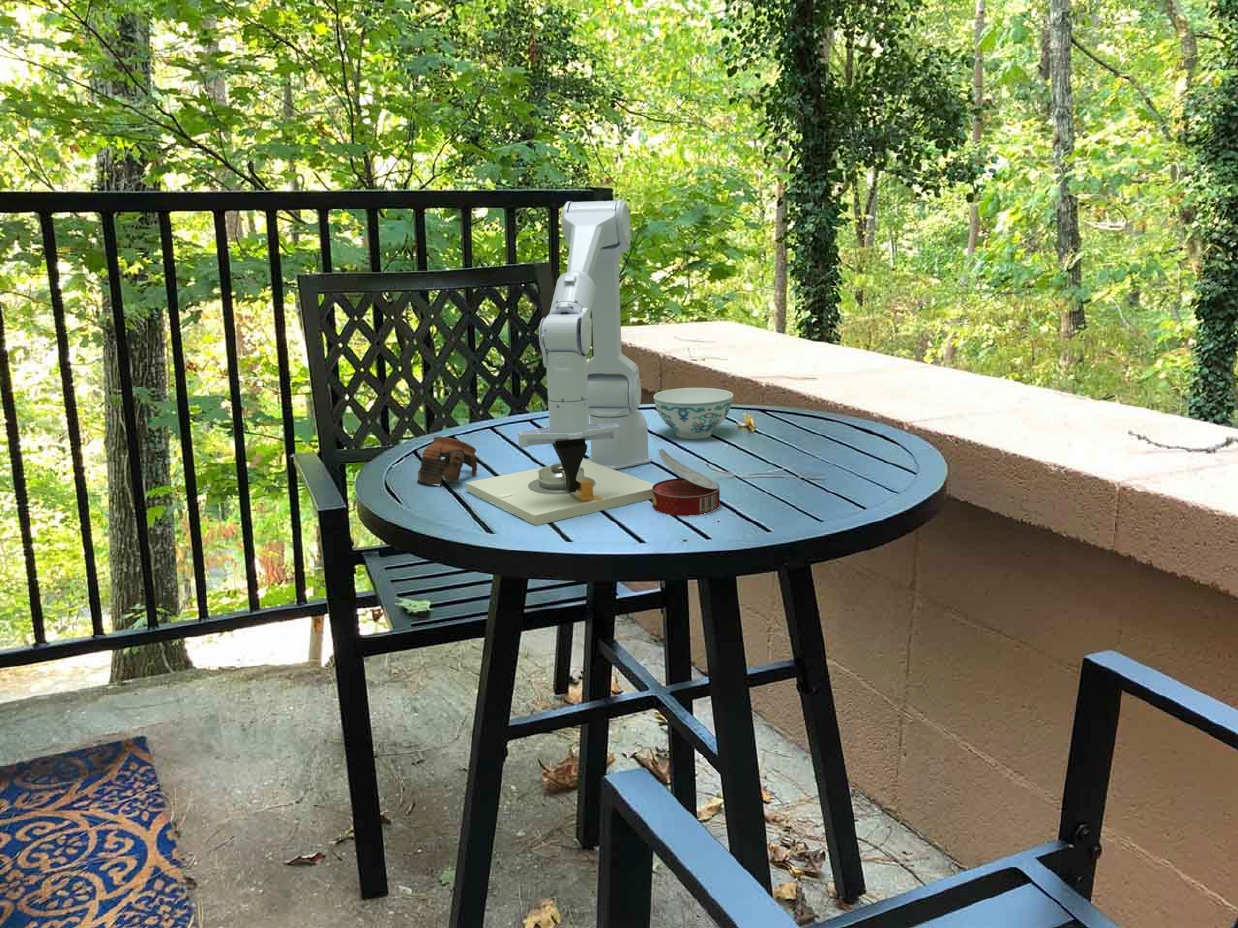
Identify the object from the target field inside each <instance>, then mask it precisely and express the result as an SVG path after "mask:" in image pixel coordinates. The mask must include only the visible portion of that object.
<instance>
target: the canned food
mask: <svg viewBox="0 0 1238 928" xmlns="http://www.w3.org/2000/svg"><path fill="white" fill-rule="evenodd" d="M657 450H658V453H659V457H660V458H661V460H662V461H663V463H664V464H665V465H666V466H667V467H668V468H669V469H670V470H671V471H673V473H675V474H676V475H677V476H679V477H680V478H671V479H665V480H661V481H658V482H657V483H654V484H655V485H654V486H653V487H652V495H653V499H652V508H654V511H656V512H658V511H659V512H658V513H660V512H662V513H661V514H663V513H665V514H664V515H668V514H670V515H669V516H674V515H675V516H678V517H690V516H689V515H695V516H701V515H700V514H703V515H705V514H704V513H707V514H709V513H708V512H711V511H713V510H715V509H717V508H718V507H719V506H720V507H721V504H720V502H721V501H720V499H721V498H720V495H721V493H720V492H721V491H720V489H721V488H720V485H719V483H717V482H716V481H714V480H713V479H711V478H710V477H708V476H705V475H704V474H703V473H700V472H699V471H696V470H695V469H692V468H690V467H689V466H687V465H685V464H683V463H681V462H679V461H678V460H677V459H675V458H673V457H672V456H671V455H669V454H668V453H667V452H666V450H665V449H663V448H661V449H657ZM720 507H719V508H720ZM719 508H718V509H719ZM718 509H717V510H718ZM713 512H714V511H713ZM711 513H712V512H711Z"/></svg>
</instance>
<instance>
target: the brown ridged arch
mask: <svg viewBox="0 0 1238 928" xmlns="http://www.w3.org/2000/svg"><path fill="white" fill-rule="evenodd" d="M476 452H477V449H476V448H475V447H474V446H472V445H470V444H468V443H466V442H465V441H461V440H459V439H456V438H451V437H448V436H447V437H445V436H434V437H433V439H432V442H431V443H430V444H429V445H428V446H426V448H425V449H423V452H422V457H421V462H420V468H419V469H418V470H417V481H418V480H419V481H420V482H419V483H423V484H426V483H429V484H428V485H430V484H441V485H442V480H443V478H444V479H445V480H446V481H448V482H456V481H459V479H460V476H461V470H462V468H463V465H464V464H465V465H466V466H468V467H470V468H471V475H472V474H473V475H472V476H475V475H476V474H477V472H478V471H477V470H478V463H477V457H476V456H475V455H476V454H475V453H476ZM442 458H443V459H442Z"/></svg>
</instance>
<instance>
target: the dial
mask: <svg viewBox="0 0 1238 928" xmlns="http://www.w3.org/2000/svg"><path fill="white" fill-rule="evenodd" d="M548 466H549V467H547V466H544V467H545V468H542V467H541V468H542V469H540V470H539V471H538V474H539V486H540V487H542V488H545V489H551V490H566V491H568V490H567V488H566V475H565V472H564V469H563V466H562V464H561V462H559V463H554V464H552V465H548ZM568 492H569V491H568ZM569 493H571V494H572V495H574V496H575V497H577V498H578V499H580V500H581V501H584V500H590V499H593V482H592V481H591V480H589V479H587V478H586V477H584V469H583V468H582V467H579V470H578V473H577V477H576V492H569Z"/></svg>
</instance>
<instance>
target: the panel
mask: <svg viewBox="0 0 1238 928" xmlns="http://www.w3.org/2000/svg"><path fill="white" fill-rule="evenodd" d="M585 459H586V458H583V460H582V462H581V464H580V467H582V468H583V469H584V477H586V478H587V479H589V480H591V481H592V482H593V499H590V500H584V501H581V500H580V499H578V498H577V497H575V496H574V495H572V494H571V493H569V492H568V491H566V490H551V489H545V488H542V487H540V486H539V474H538V471H539V470H540V469H542V468H545V467H549V466H550V465H548V466H543V467H538V468H533V469H528V470H523V471H518V472H517V471H516V472H512V473H508V474H502V475H498V476H492V477H486V478H482V479H477V480H473V481H472V480H471V481H467V482H465V488H466V490H467V491H469V492H470V493H473V494H474V495H476V496H478V497H480V498H482V499H484V500H486V501H488V502H492V503H494V504H495V505H498V506H499V507H501V508H503V509H505V510H507V511H509V512H511V513H513V514H514V515H516V516H518V517H520V518H522V519H524V520H526V521H527V522H526V521H525V522H526V523H528V522H529V523H528V524H530V523H531V524H530V525H532V524H533V526H540V525H544V524H548V523H552V522H553V521H554V522H557V521H561V520H566V519H570V518H574V517H579V516H583V515H584V516H585V515H587V514H591V513H596V512H601V511H605V510H609V509H614V508H617V507H621V506H626V505H631V504H634V503H639V502H640V503H641V502H643V501H647V500H653V495H652V487H653V486H654V485H655V484H656V483H653V482H650V481H646V480H644V479H641V478H638V477H635V476H632V475H630V474H627V473H625V472H621V471H619V470H617V469H615V470H613V469H610V468H608V467H605V466H602V465H599V464H596V463H594V462H591V461H588V460H585ZM466 490H465V491H466ZM470 493H469V494H470ZM474 495H473V496H474ZM476 496H475V497H476ZM478 497H477V498H478ZM480 498H479V499H480ZM482 499H481V500H482ZM484 500H483V501H484ZM486 501H485V502H486ZM488 502H487V503H488ZM514 515H513V516H514ZM516 516H515V517H516ZM518 517H517V518H518ZM520 518H519V519H520ZM522 519H521V520H522ZM524 520H523V521H524Z"/></svg>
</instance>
